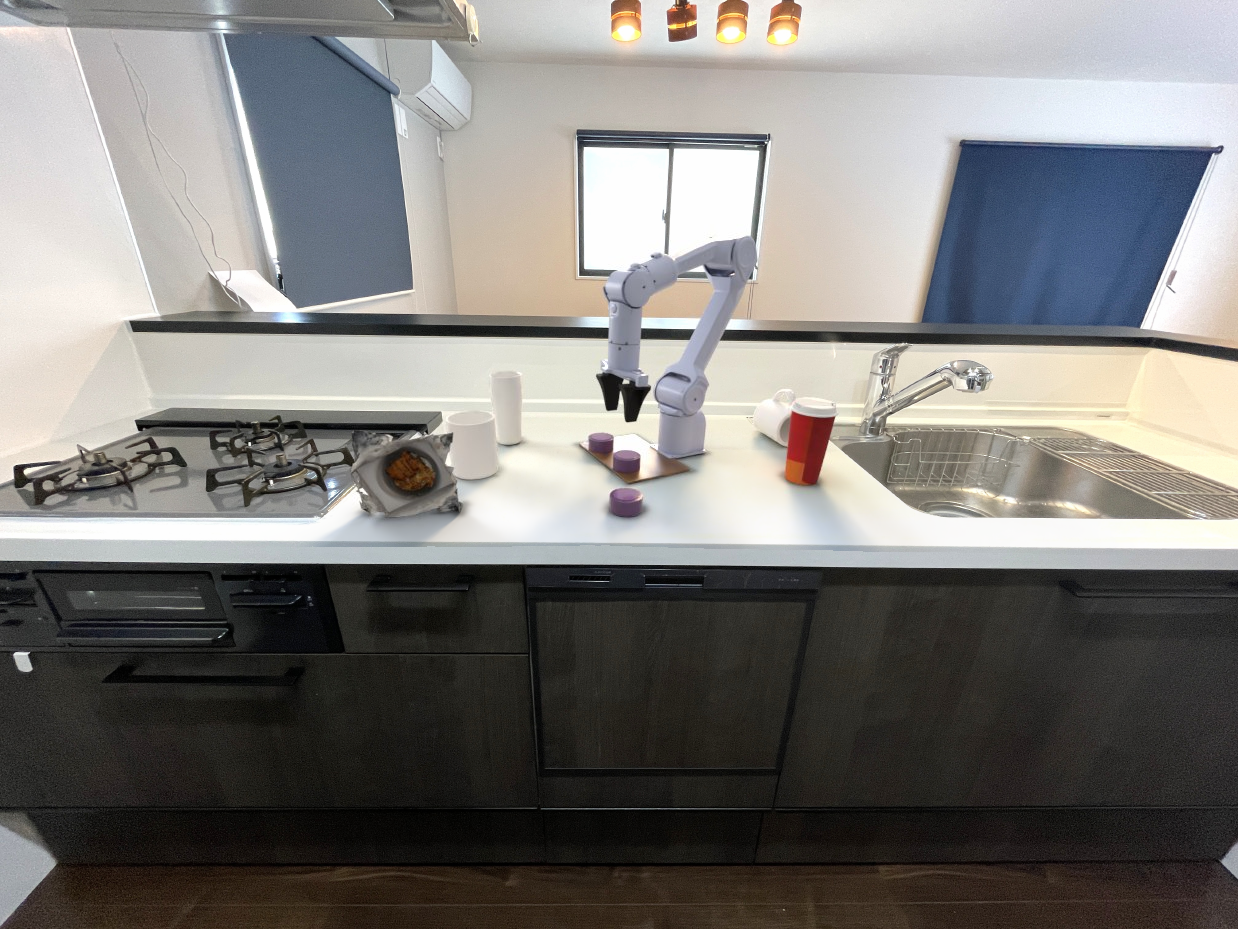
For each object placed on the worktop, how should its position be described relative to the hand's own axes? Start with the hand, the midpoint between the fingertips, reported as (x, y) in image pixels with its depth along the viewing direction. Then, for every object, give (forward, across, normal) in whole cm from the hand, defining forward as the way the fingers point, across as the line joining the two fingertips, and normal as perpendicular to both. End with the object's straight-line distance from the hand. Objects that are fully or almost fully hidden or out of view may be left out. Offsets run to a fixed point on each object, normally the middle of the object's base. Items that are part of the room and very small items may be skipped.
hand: (620, 415), depth 93 cm
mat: (+10, -3, +5) cm, 12 cm away
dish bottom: (+11, +16, -7) cm, 20 cm away
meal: (+12, +2, -38) cm, 40 cm away
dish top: (+10, -9, +1) cm, 14 cm away
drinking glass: (+11, -22, -15) cm, 29 cm away
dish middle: (+10, +2, +1) cm, 10 cm away
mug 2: (+10, +2, +41) cm, 42 cm away
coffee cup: (+10, +20, +29) cm, 36 cm away
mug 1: (+11, -11, -25) cm, 30 cm away
